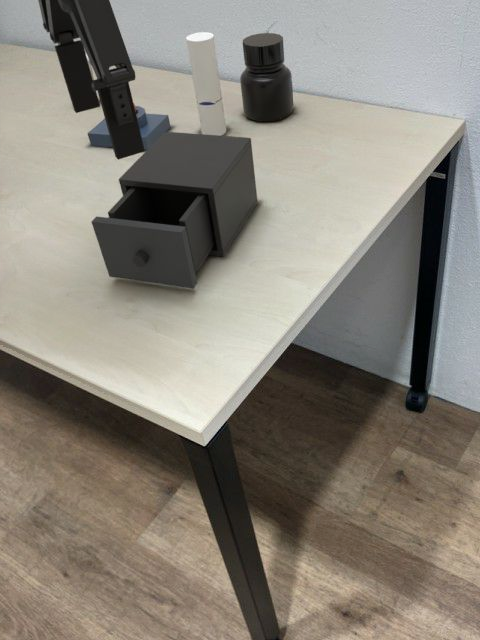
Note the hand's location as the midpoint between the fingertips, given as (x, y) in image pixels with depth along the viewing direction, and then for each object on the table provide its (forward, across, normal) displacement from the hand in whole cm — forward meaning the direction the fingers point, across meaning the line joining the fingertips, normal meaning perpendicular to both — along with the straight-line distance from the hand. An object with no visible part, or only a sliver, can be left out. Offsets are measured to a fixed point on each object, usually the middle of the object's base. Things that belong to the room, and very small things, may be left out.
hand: (107, 130), depth 62 cm
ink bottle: (+19, +35, -37) cm, 54 cm away
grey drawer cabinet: (+19, +8, -11) cm, 23 cm away
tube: (+19, +34, -25) cm, 47 cm away
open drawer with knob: (+18, +2, -4) cm, 19 cm away
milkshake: (+19, +61, -12) cm, 65 cm away
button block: (+19, +42, -13) cm, 48 cm away
